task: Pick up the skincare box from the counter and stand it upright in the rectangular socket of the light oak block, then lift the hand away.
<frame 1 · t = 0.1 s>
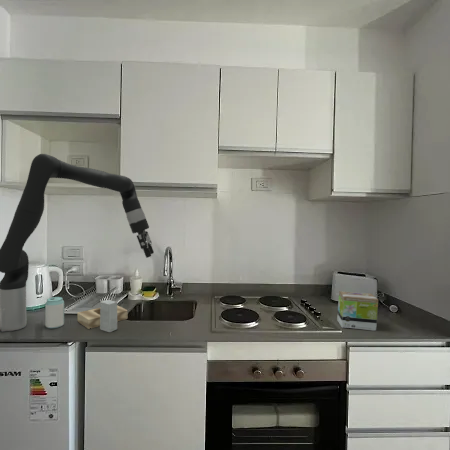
hand: (150, 255, 134), 31 cm above the worktop, tool tilted 20°, fingers open, 8 cm apart
skincare box: (108, 329, 129), on the worktop
socket block: (102, 320, 140), on the worktop
can: (54, 326, 132), on the worktop
tea box: (356, 326, 142), on the worktop
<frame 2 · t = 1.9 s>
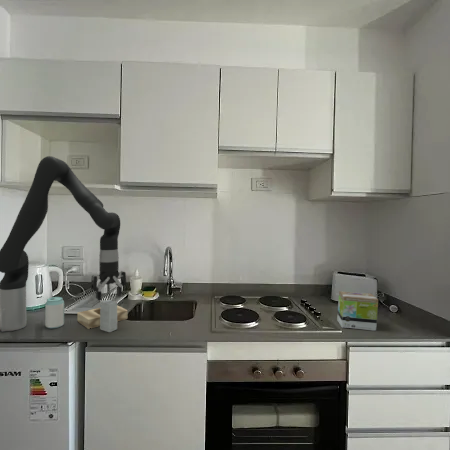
hand: (109, 297, 129), 14 cm above the worktop, tool pointing down, fingers open, 8 cm apart
nothing on the worktop moved.
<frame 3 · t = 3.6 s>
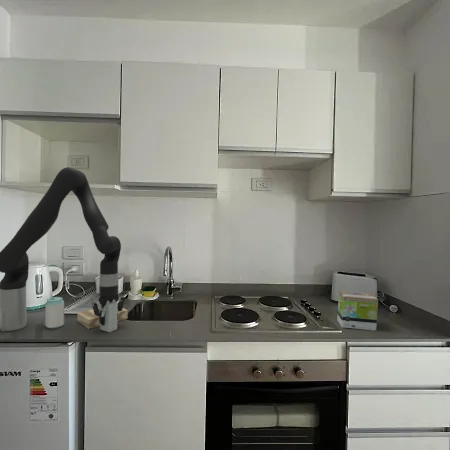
hand: (108, 323, 129), 3 cm above the worktop, tool pointing down, fingers closed on skincare box, 4 cm apart
skincare box: (108, 329, 129), on the worktop, touching gripper
everything else where it was.
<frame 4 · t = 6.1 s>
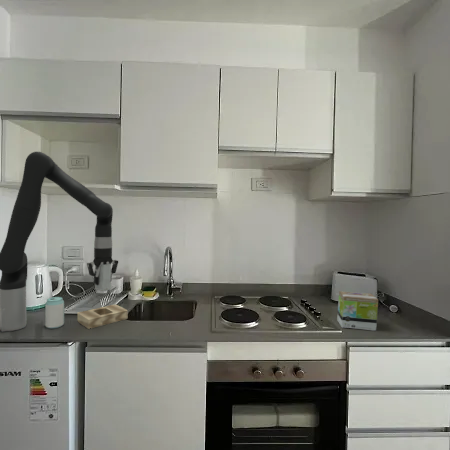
hand: (102, 283, 138), 17 cm above the worktop, tool pointing down, fingers closed on skincare box, 4 cm apart
skincare box: (102, 290, 138), point 14 cm above the worktop, touching gripper
everything else where it was.
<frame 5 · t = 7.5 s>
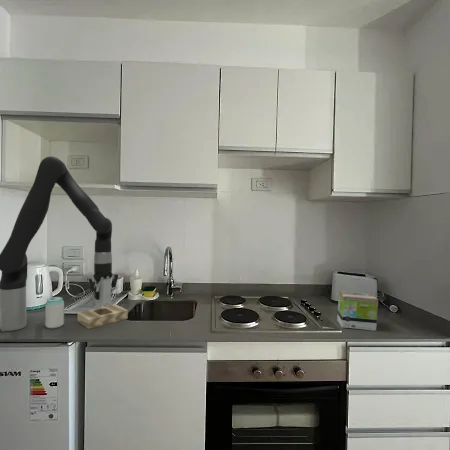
hand: (103, 298, 139), 10 cm above the worktop, tool pointing down, fingers closed on skincare box, 4 cm apart
skincare box: (103, 304, 139), point 7 cm above the worktop, touching gripper
everything else where it was.
when the fingers open (6 cm above the worktop, at t = 8.8 s): skincare box drops 2 cm, resting on socket block.
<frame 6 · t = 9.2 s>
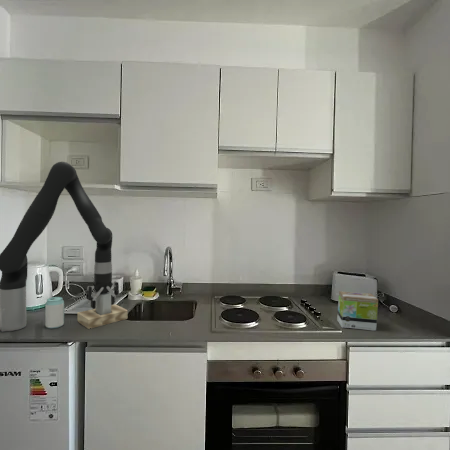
hand: (103, 306, 139), 6 cm above the worktop, tool pointing down, fingers open, 8 cm apart
skincare box: (103, 319, 140), resting on socket block
everything else where it was.
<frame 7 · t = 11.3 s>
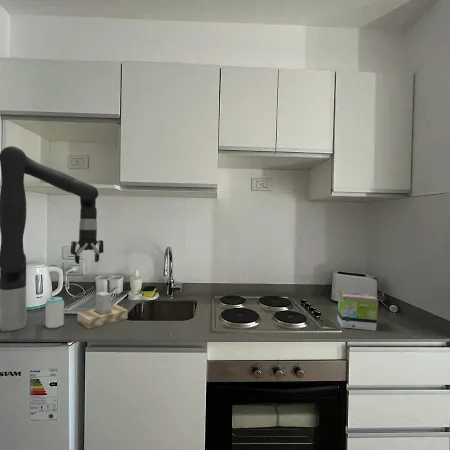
hand: (87, 262, 143), 26 cm above the worktop, tool pointing down, fingers open, 8 cm apart
nothing on the worktop moved.
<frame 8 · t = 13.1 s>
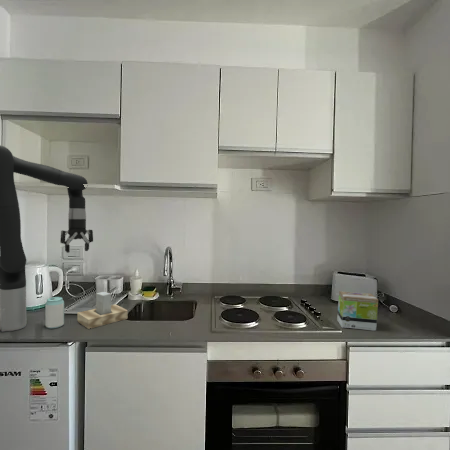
hand: (77, 251, 146), 30 cm above the worktop, tool pointing down, fingers open, 8 cm apart
nothing on the worktop moved.
at the end: skincare box 0.3 cm off-centre on the socket block, point 0.2 cm above the socket block's base; skincare box tilted 0°; the gripper is holding nothing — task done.
